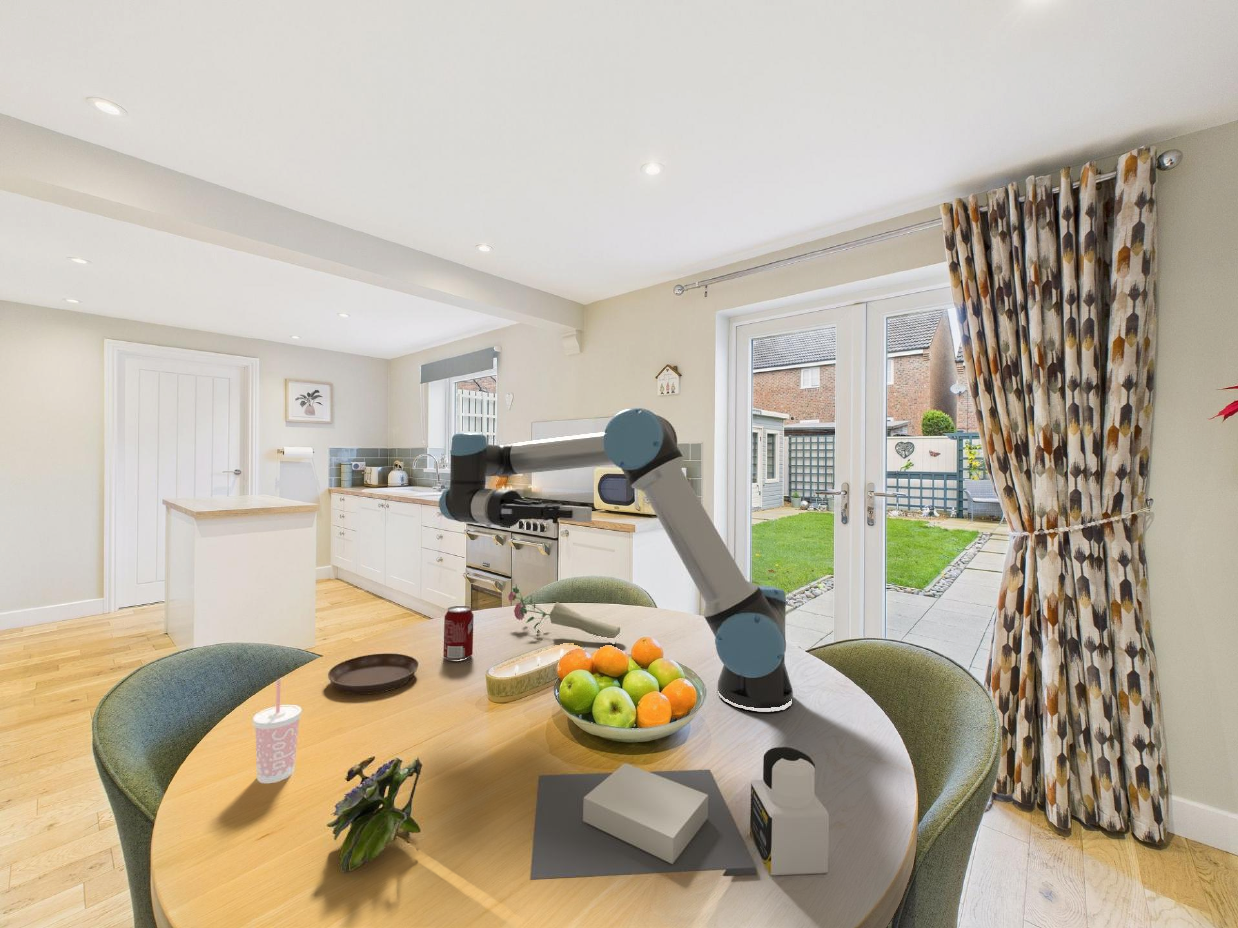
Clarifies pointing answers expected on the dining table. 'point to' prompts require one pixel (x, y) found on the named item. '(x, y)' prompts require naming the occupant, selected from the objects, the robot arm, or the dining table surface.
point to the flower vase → (566, 618)
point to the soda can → (458, 633)
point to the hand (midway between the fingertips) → (589, 515)
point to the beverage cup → (276, 740)
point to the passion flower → (373, 811)
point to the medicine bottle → (789, 815)
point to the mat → (593, 852)
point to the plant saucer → (373, 673)
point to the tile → (646, 811)
